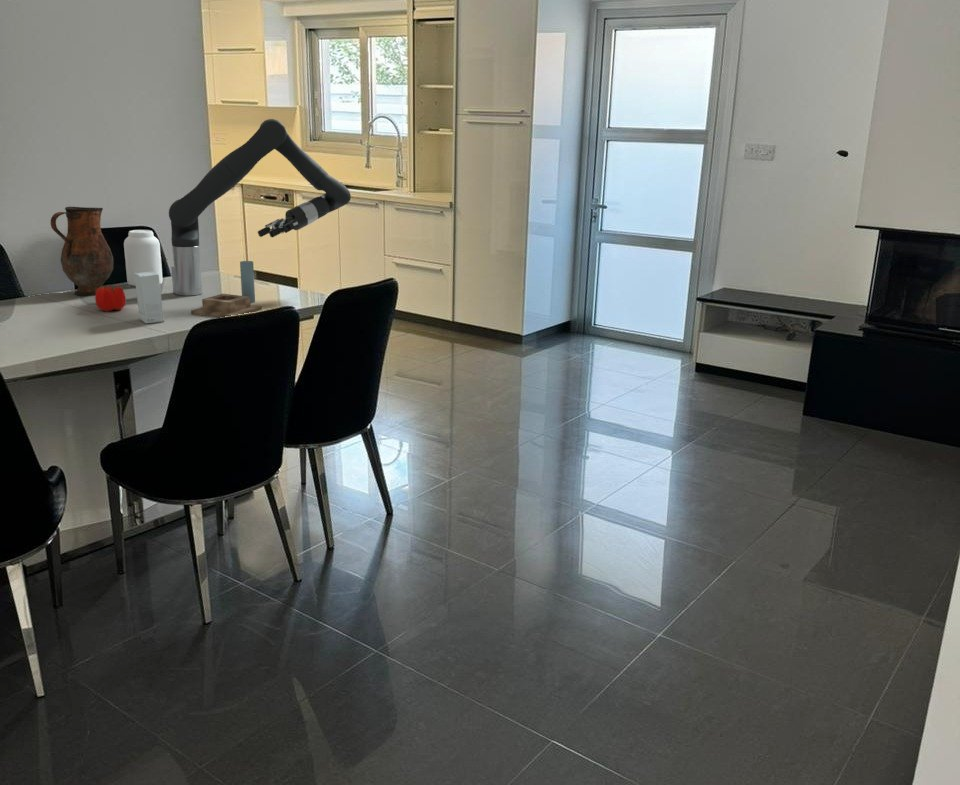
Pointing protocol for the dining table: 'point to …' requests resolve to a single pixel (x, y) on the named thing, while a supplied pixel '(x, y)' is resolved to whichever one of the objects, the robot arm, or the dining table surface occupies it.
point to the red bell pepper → (110, 298)
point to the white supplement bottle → (142, 254)
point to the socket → (226, 306)
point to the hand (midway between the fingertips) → (264, 234)
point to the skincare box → (149, 297)
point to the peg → (247, 280)
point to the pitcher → (84, 249)
